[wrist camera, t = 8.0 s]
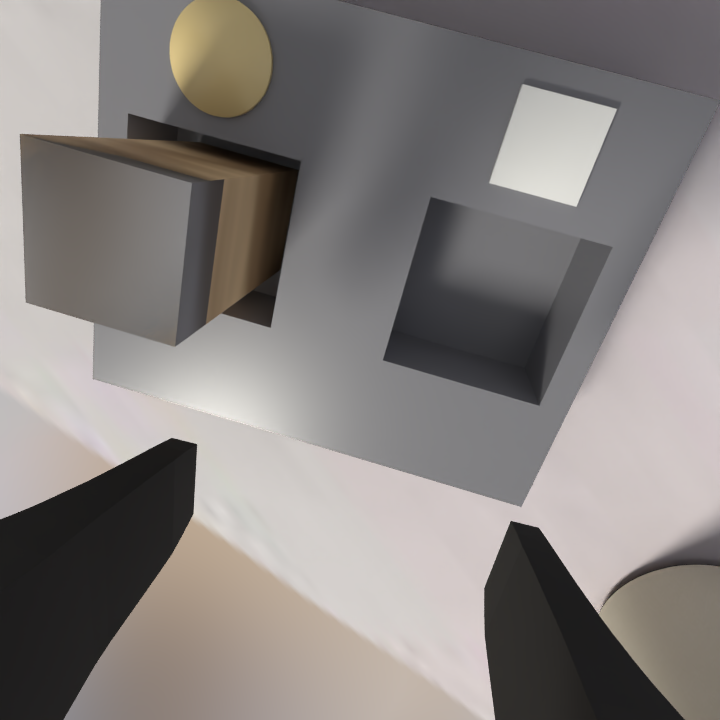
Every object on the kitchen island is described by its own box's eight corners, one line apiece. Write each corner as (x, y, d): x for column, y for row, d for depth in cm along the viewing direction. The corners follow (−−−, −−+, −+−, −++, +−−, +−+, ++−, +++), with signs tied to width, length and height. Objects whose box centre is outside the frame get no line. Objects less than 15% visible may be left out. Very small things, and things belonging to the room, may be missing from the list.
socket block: (655, 112, 16) (725, 100, 12) (507, 445, 21) (522, 510, 17) (177, -14, 16) (97, -66, 12) (151, 340, 22) (89, 381, 18)
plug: (298, 170, 17) (191, 182, 10) (280, 269, 18) (175, 346, 11) (199, 142, 17) (19, 134, 10) (188, 243, 19) (25, 302, 11)
